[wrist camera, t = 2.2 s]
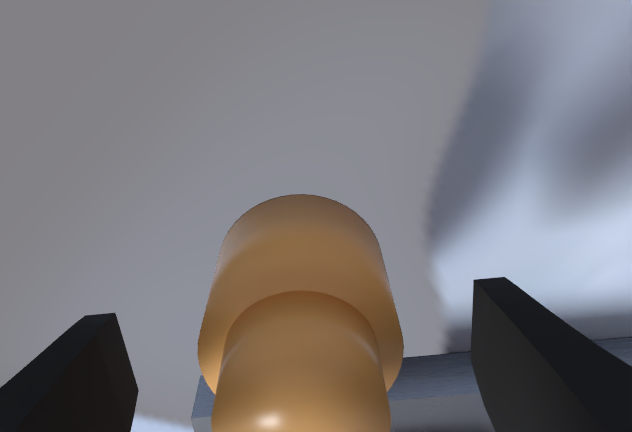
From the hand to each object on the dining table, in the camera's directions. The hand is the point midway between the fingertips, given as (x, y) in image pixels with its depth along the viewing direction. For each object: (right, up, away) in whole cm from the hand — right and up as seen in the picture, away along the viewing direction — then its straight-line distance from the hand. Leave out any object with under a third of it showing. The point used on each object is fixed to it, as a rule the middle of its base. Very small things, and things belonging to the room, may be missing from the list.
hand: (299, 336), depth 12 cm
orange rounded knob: (0, +1, +2) cm, 3 cm away
